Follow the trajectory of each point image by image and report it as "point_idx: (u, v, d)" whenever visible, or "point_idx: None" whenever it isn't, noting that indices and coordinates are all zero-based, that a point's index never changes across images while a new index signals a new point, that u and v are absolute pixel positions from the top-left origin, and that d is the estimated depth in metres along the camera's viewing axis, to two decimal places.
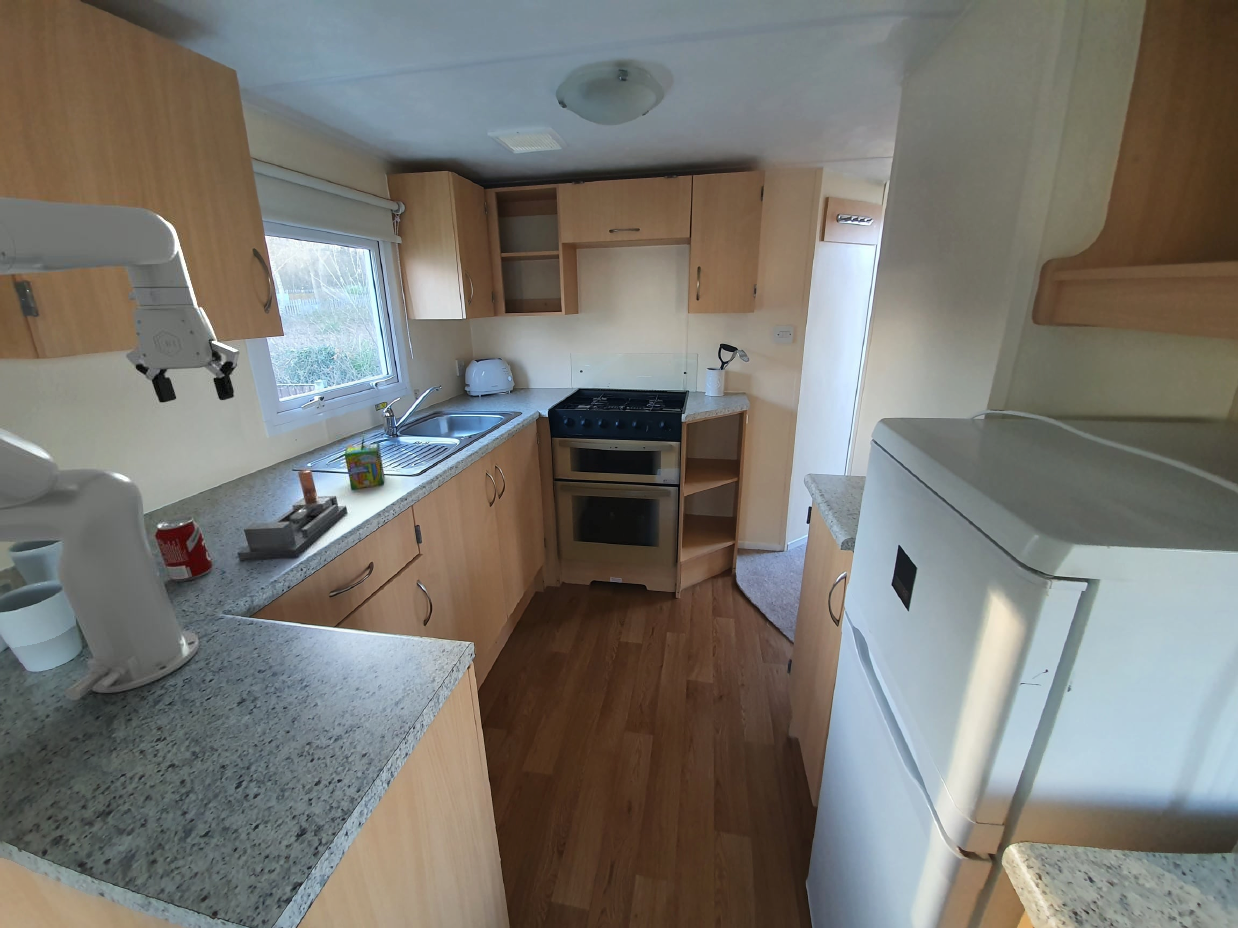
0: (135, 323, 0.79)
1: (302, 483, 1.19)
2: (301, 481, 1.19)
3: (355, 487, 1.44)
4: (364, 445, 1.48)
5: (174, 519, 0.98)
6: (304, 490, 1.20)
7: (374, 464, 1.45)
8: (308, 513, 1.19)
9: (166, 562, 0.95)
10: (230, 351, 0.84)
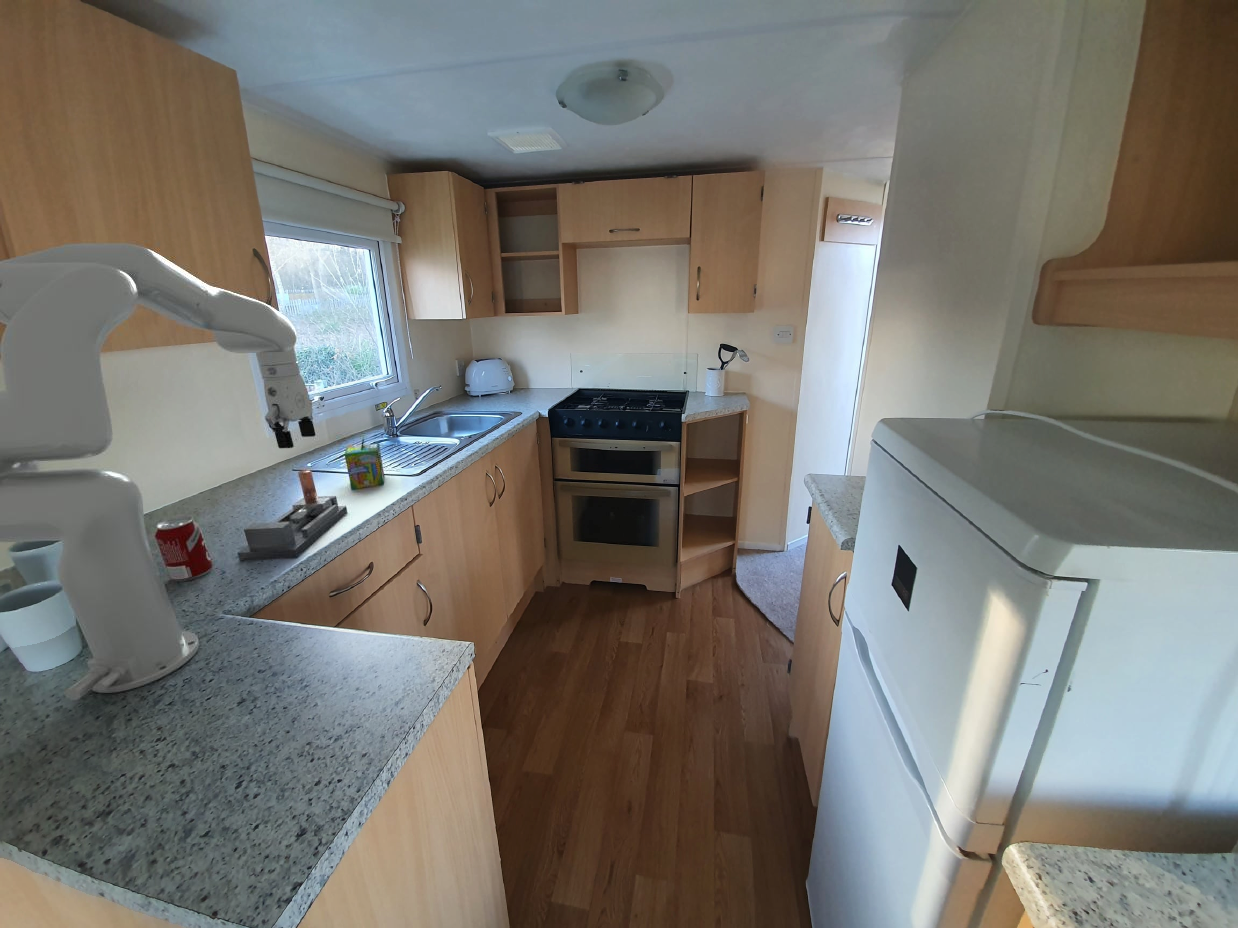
0: (285, 389, 1.09)
1: (302, 483, 1.19)
2: (301, 481, 1.19)
3: (355, 487, 1.44)
4: (364, 445, 1.48)
5: (174, 519, 0.98)
6: (304, 490, 1.20)
7: (374, 464, 1.45)
8: (308, 513, 1.19)
9: (166, 562, 0.95)
10: (309, 401, 1.22)
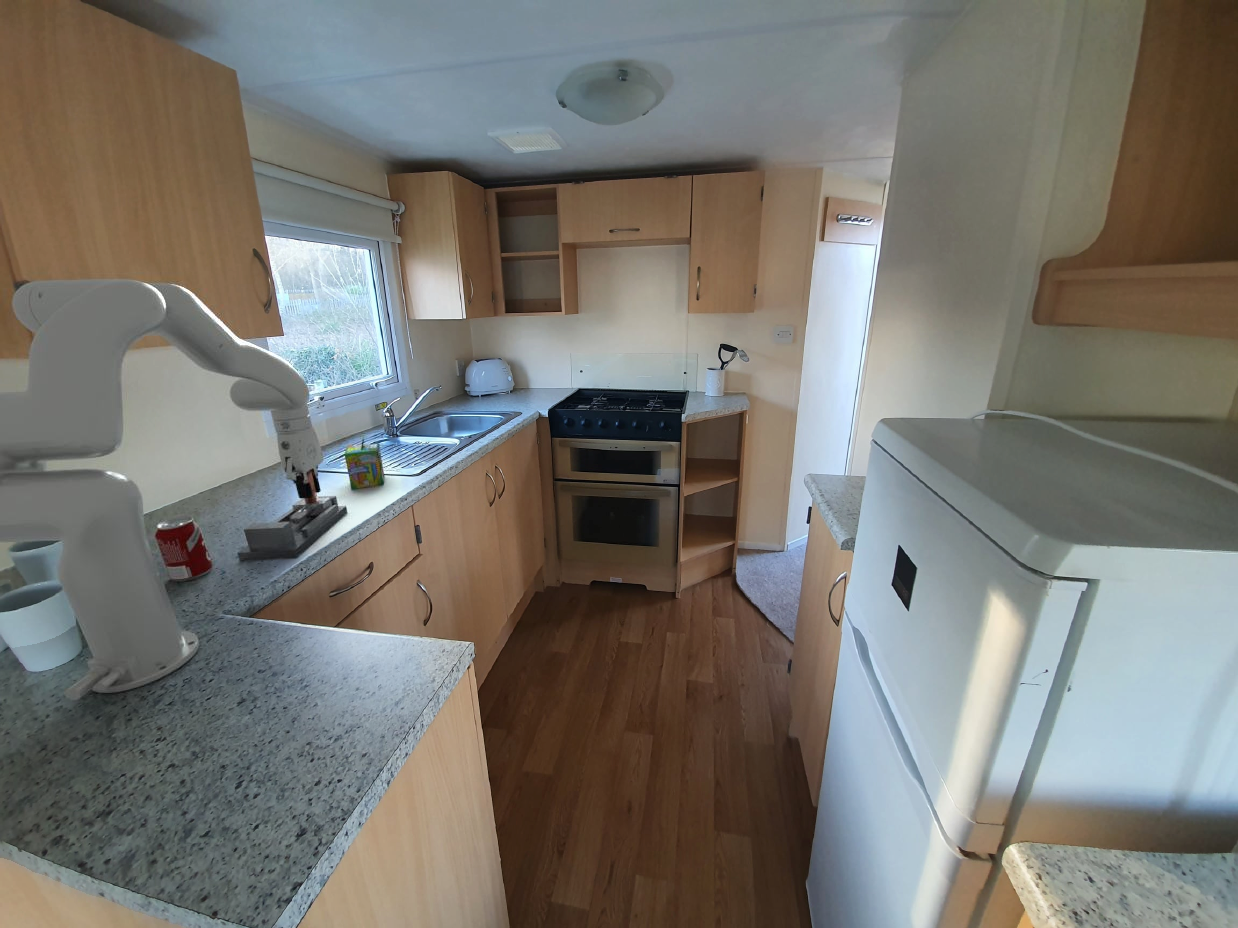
0: (297, 443, 1.13)
1: None
2: None
3: (355, 487, 1.44)
4: (364, 445, 1.48)
5: (174, 519, 0.98)
6: None
7: (374, 464, 1.45)
8: (308, 513, 1.19)
9: (166, 562, 0.95)
10: None
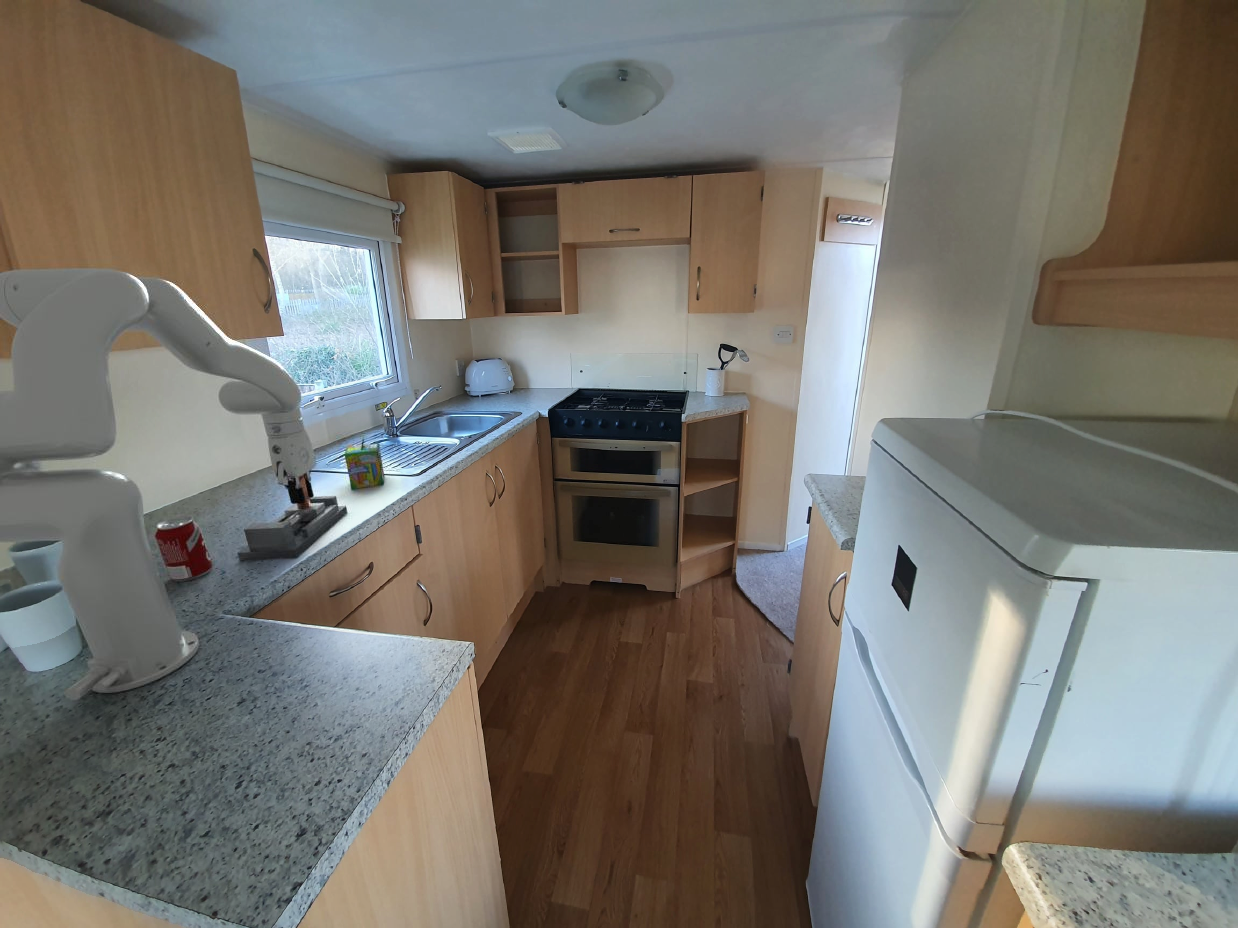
0: (289, 447, 1.10)
1: None
2: None
3: (355, 487, 1.44)
4: (364, 445, 1.48)
5: (174, 519, 0.98)
6: None
7: (374, 464, 1.45)
8: (300, 519, 1.15)
9: (166, 562, 0.95)
10: None
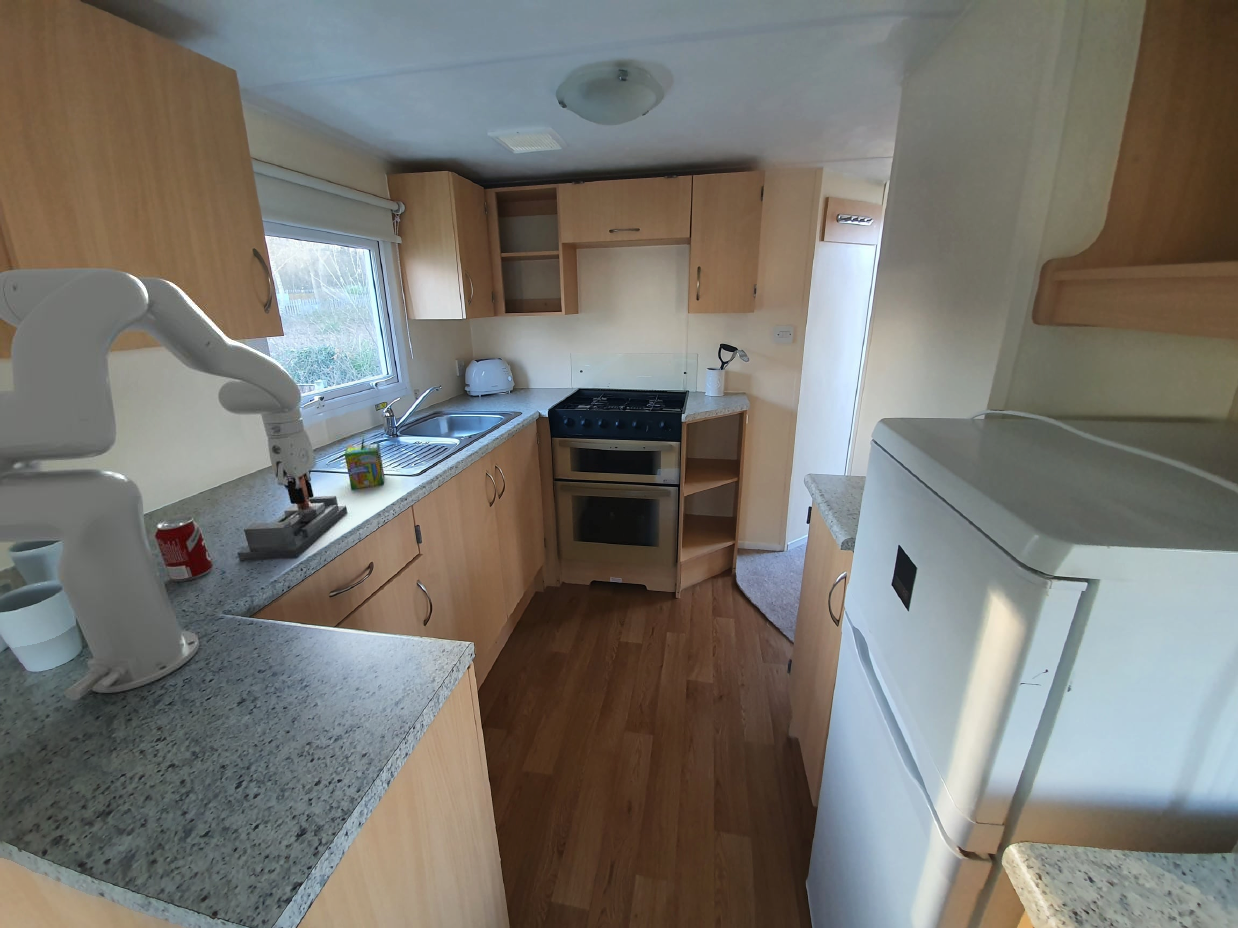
0: (289, 447, 1.10)
1: None
2: None
3: (355, 487, 1.44)
4: (364, 445, 1.48)
5: (174, 519, 0.98)
6: None
7: (374, 464, 1.45)
8: (300, 519, 1.15)
9: (166, 562, 0.95)
10: None
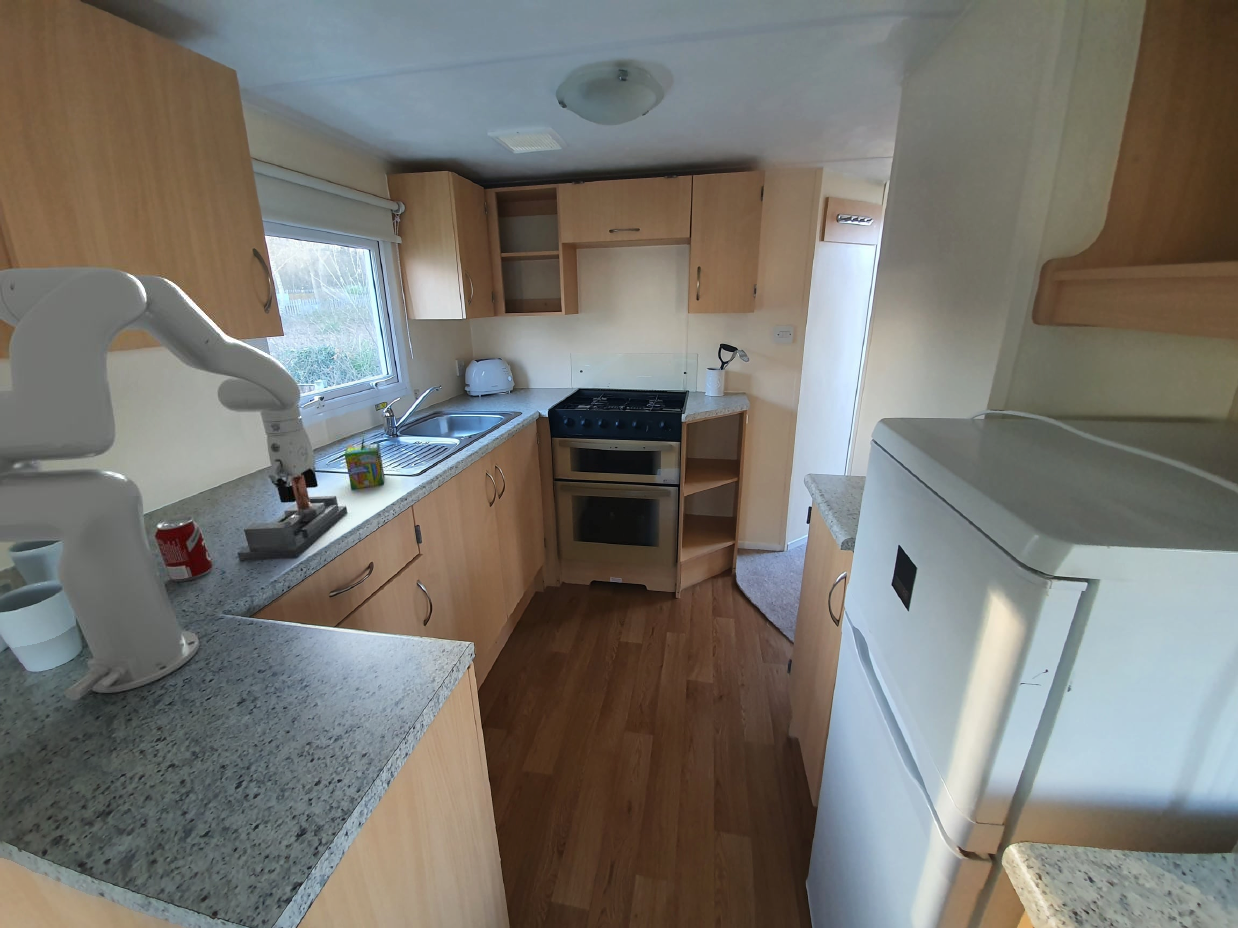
0: (288, 445, 1.10)
1: (294, 488, 1.16)
2: (293, 486, 1.16)
3: (355, 487, 1.44)
4: (364, 445, 1.48)
5: (174, 519, 0.98)
6: (296, 495, 1.17)
7: (374, 464, 1.45)
8: (300, 519, 1.15)
9: (166, 562, 0.95)
10: (312, 452, 1.23)
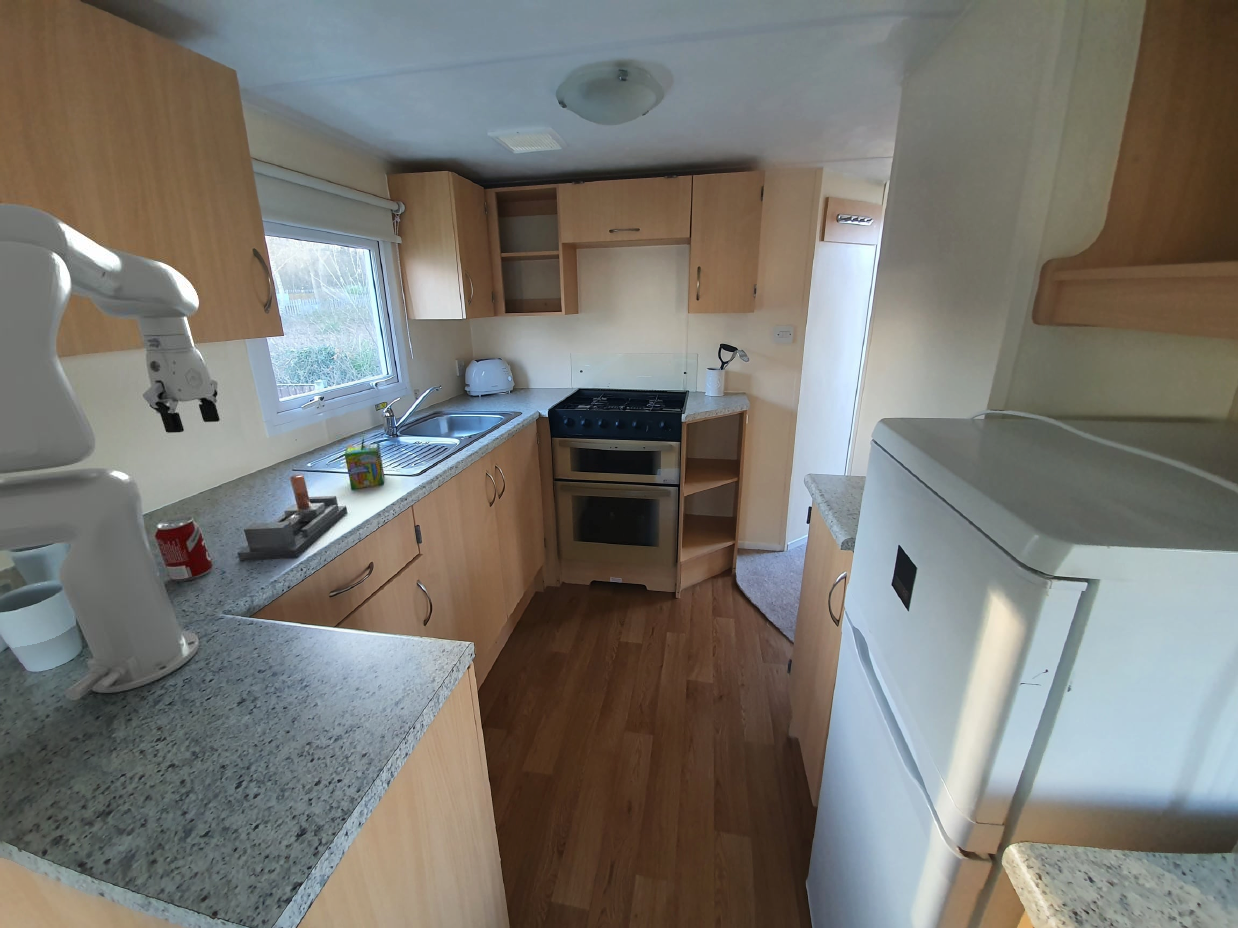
0: (170, 364, 0.95)
1: (294, 488, 1.16)
2: (293, 486, 1.16)
3: (355, 487, 1.44)
4: (364, 445, 1.48)
5: (174, 519, 0.98)
6: (296, 495, 1.17)
7: (374, 464, 1.45)
8: (300, 519, 1.15)
9: (166, 562, 0.95)
10: (214, 381, 1.08)
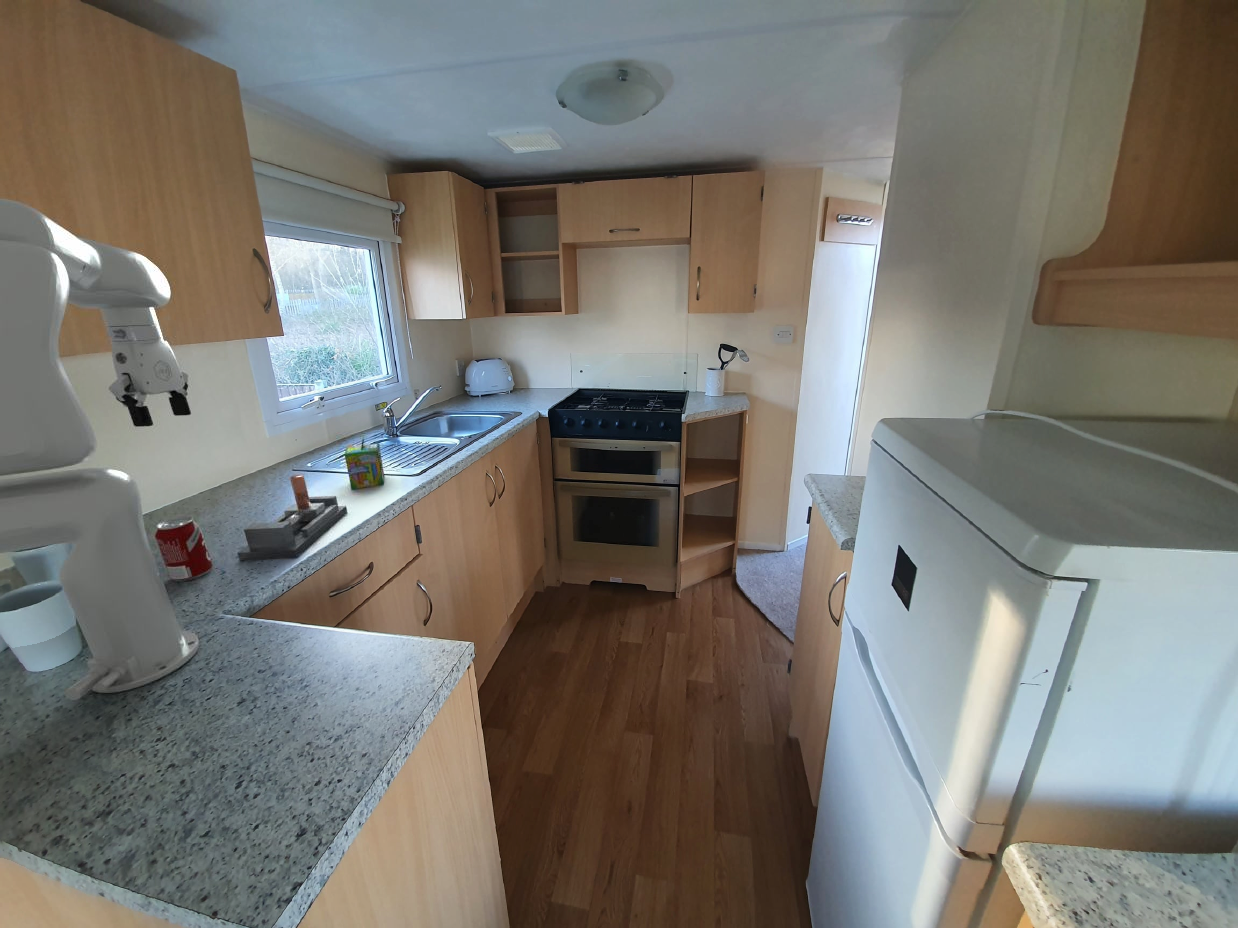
0: (137, 356, 0.92)
1: (294, 488, 1.16)
2: (293, 486, 1.16)
3: (355, 487, 1.44)
4: (364, 445, 1.48)
5: (174, 519, 0.98)
6: (296, 495, 1.17)
7: (374, 464, 1.45)
8: (300, 519, 1.15)
9: (166, 562, 0.95)
10: (184, 374, 1.05)
